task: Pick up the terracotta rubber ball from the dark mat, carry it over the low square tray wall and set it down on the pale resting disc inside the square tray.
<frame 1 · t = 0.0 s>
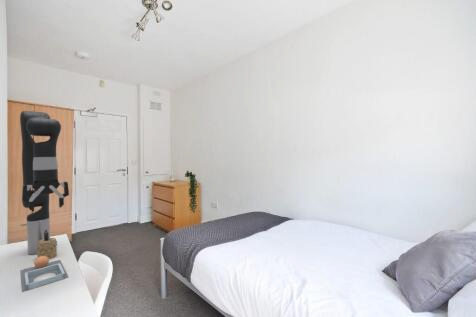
hand: (47, 209, 92), 29 cm above the table, fingers open, 8 cm apart
square tray: (44, 277, 94), resting on mat
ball: (41, 267, 103), point 1 cm above the table, touching mat
mat: (43, 275, 98), on the table
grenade: (47, 259, 114), on the table
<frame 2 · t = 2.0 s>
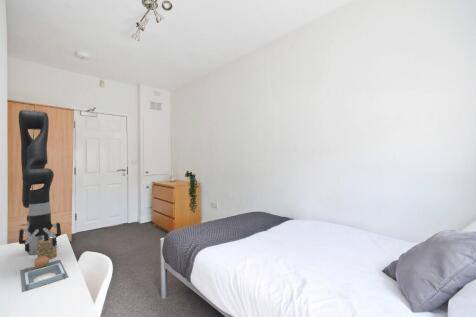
hand: (41, 249, 103), 9 cm above the table, fingers open, 8 cm apart
nothing on the table moved.
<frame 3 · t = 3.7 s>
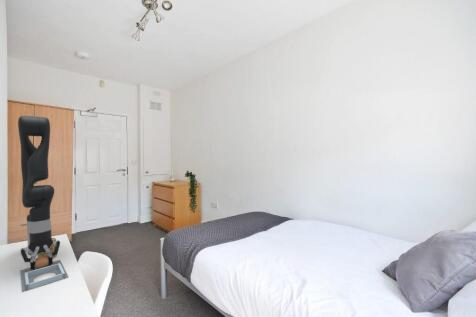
hand: (41, 267, 103), 1 cm above the table, fingers closed on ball, 5 cm apart
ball: (41, 267, 103), point 1 cm above the table, touching gripper, mat
everything else where it was.
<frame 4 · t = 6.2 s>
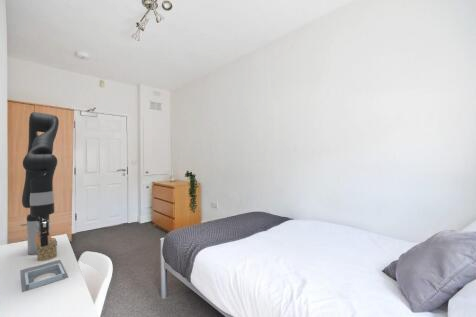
hand: (43, 244, 94), 14 cm above the table, fingers closed on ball, 5 cm apart
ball: (43, 244, 94), point 14 cm above the table, touching gripper
everything else where it was.
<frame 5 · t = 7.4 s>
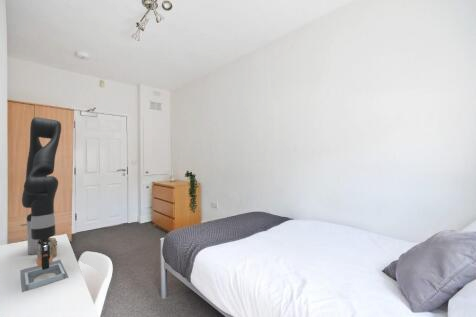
hand: (44, 266, 94), 5 cm above the table, fingers closed on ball, 5 cm apart
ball: (44, 266, 94), point 5 cm above the table, touching gripper
everything else where it was.
when the fingers open (4 cm above the table, at t = 8.5 s): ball drops 3 cm, resting on square tray.
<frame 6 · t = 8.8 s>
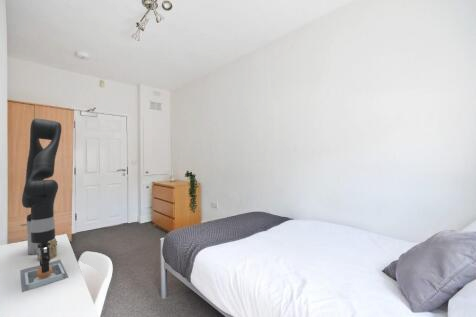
hand: (44, 268, 94), 4 cm above the table, fingers open, 7 cm apart
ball: (44, 277, 94), point 1 cm above the table, touching square tray
everything else where it was.
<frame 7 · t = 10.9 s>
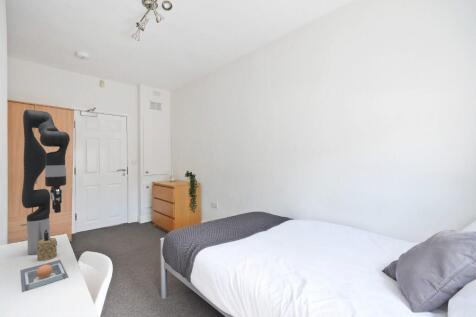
hand: (56, 210, 104), 26 cm above the table, fingers open, 8 cm apart
nothing on the table moved.
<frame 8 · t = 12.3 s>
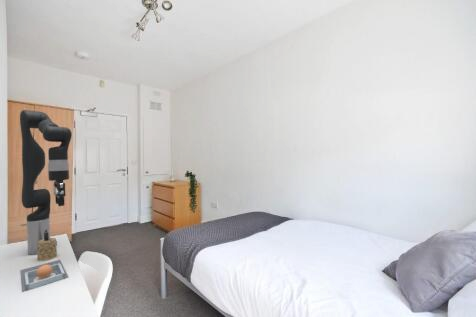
hand: (59, 204, 106), 28 cm above the table, fingers open, 8 cm apart
nothing on the table moved.
at the end: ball inside the target area on the square tray (0.0 cm from its centre), point 0.2 cm above the square tray's base; the gripper is holding nothing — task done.
